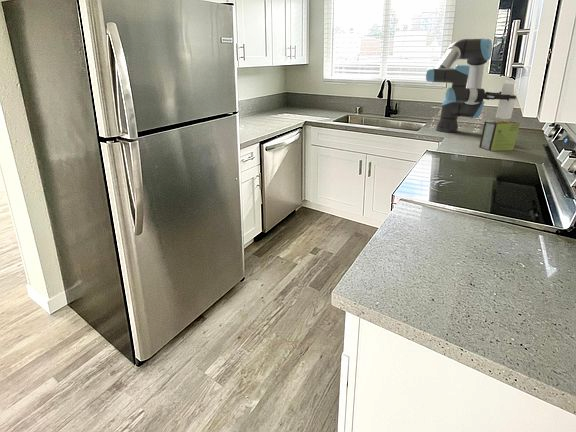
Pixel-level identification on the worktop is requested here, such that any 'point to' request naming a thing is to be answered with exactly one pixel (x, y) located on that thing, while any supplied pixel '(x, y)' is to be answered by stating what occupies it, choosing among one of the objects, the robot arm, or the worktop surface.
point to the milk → (506, 106)
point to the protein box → (499, 135)
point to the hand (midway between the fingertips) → (517, 96)
